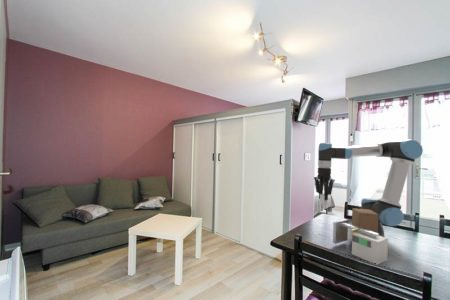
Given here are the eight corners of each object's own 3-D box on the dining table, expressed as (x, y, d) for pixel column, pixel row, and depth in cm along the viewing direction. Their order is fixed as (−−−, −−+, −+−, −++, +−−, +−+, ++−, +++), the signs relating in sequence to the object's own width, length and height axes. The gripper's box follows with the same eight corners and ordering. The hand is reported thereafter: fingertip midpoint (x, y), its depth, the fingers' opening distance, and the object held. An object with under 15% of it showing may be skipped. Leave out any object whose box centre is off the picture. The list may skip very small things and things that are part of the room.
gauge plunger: (344, 239, 125) (345, 219, 125) (382, 253, 108) (383, 230, 108) (332, 243, 118) (332, 221, 119) (369, 259, 102) (370, 234, 102)
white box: (361, 250, 116) (362, 230, 116) (387, 260, 105) (387, 238, 105) (351, 253, 110) (351, 233, 110) (376, 265, 100) (377, 242, 100)
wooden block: (377, 250, 116) (378, 214, 116) (357, 247, 118) (359, 212, 118) (369, 242, 126) (370, 209, 126) (350, 240, 128) (352, 208, 128)
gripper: (310, 166, 136) (309, 202, 136) (331, 168, 124) (330, 208, 123) (318, 166, 140) (316, 201, 140) (339, 168, 127) (337, 207, 127)
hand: (323, 204), depth 131 cm, fingers closed
